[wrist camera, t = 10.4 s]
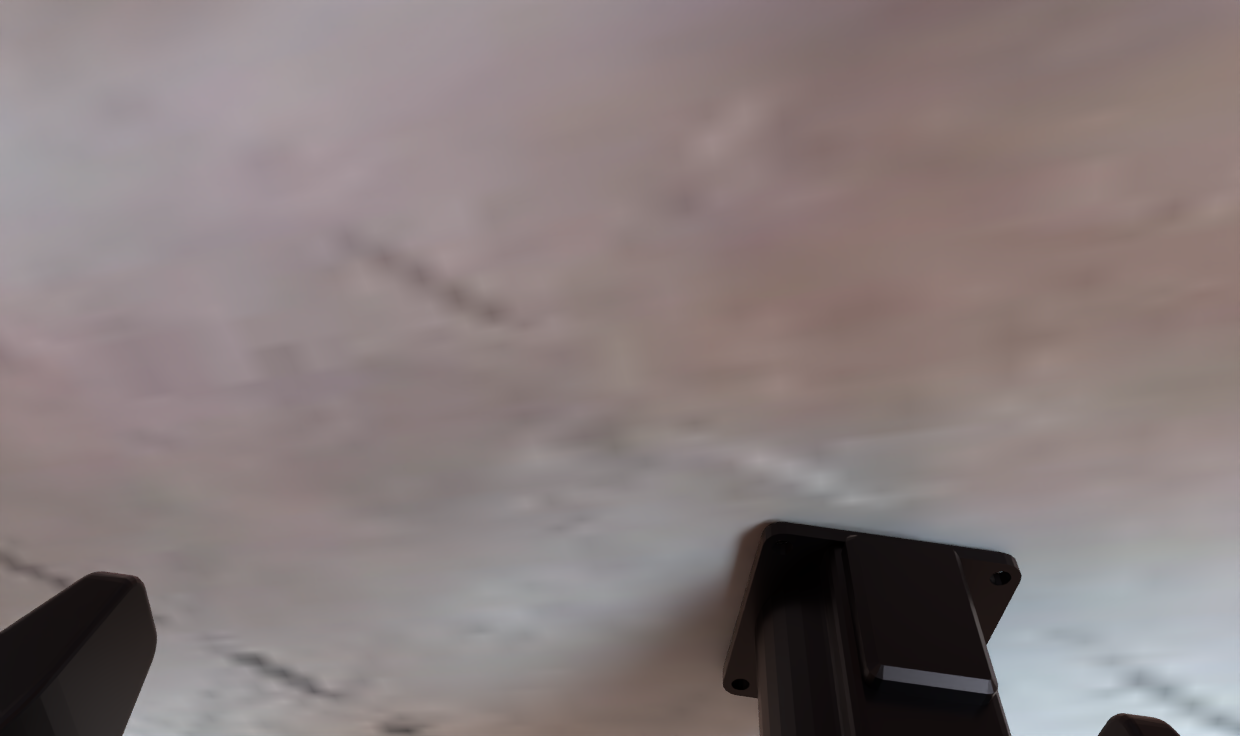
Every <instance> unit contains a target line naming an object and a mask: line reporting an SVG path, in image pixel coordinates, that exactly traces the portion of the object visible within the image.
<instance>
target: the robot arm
mask: <svg viewBox="0 0 1240 736" xmlns="http://www.w3.org/2000/svg"><path fill="white" fill-rule="evenodd" d="M778 541H788V542H787V543H784V544H779V543H776V542H778ZM998 571H1003V572H1001V573H996V572H998ZM994 573H996V574H994ZM1020 580H1021V573H1020V570H1019V568H1018V565H1017V562H1016V560H1015V558H1014V557H1012V556H1011V555H1009V554H1006V553H1002V552H994V551H987V550H980V549H973V548H966V547H959V546H952V545H945V544H937V543H930V542H923V541H916V540H909V539H902V538H895V537H887V536H880V535H873V534H866V533H859V532H852V531H845V530H838V529H830V528H823V527H816V526H809V525H802V524H795V523H788V522H777V523H774V524H771V525H769V526H768V527H767V528H765V530H764V531H763V533H762V536H761V539H760V543H759V546H758V550H757V553H756V557H755V560H754V563H753V567H752V570H751V574H750V577H749V581H748V584H747V588H746V591H745V595H744V598H743V602H742V605H741V609H740V612H739V616H738V619H737V623H736V626H735V630H734V633H733V637H732V640H731V644H730V647H729V651H728V654H727V658H726V661H725V665H724V668H723V687H724V688H725V690H726V691H728V692H729V693H731V694H734V695H739V696H746V697H753V698H758V709H759V728H760V736H1011V733H1010V730H1009V727H1008V723H1007V720H1006V717H1005V713H1004V710H1003V707H1002V703H1001V700H1000V697H999V693H998V683H997V679H996V676H995V673H994V669H993V666H992V663H991V660H990V656H989V653H988V650H987V646H986V645H987V643H988V641H989V639H990V637H991V635H992V634H993V632H994V630H995V628H996V626H997V624H998V622H999V620H1000V619H1001V617H1002V615H1003V613H1004V611H1005V609H1006V607H1007V605H1008V603H1009V602H1010V600H1011V598H1012V596H1013V594H1014V592H1015V590H1016V588H1017V586H1018V585H1019V583H1020ZM156 644H157V633H156V628H155V624H154V620H153V616H152V612H151V608H150V604H149V600H148V596H147V592H146V589H145V586H144V583H143V582H142V581H141V580H140V579H139V578H138V577H136V576H132V575H125V574H118V573H111V572H94V573H91V574H89V575H86V576H84V577H83V578H81V579H80V580H78V581H77V582H75V583H74V584H72V585H71V586H69V587H68V588H66V589H65V590H63V591H61V592H60V593H58V594H57V595H55V596H54V597H52V598H51V599H49V600H48V601H46V602H45V603H43V604H42V605H40V606H39V607H37V608H36V609H34V610H33V611H31V612H30V613H28V614H27V615H25V616H24V617H22V618H21V619H19V620H18V621H16V622H15V623H13V624H12V625H10V626H9V627H7V628H6V629H4V630H3V631H1V632H0V736H122V735H123V733H124V730H125V728H126V725H127V723H128V720H129V718H130V715H131V713H132V710H133V708H134V706H135V703H136V701H137V698H138V696H139V693H140V691H141V688H142V686H143V683H144V681H145V678H146V676H147V673H148V671H149V668H150V666H151V663H152V661H153V658H154V654H155V650H156ZM1098 736H1180V735H1179V734H1178V733H1177V732H1176V731H1175V730H1174V729H1173V728H1172V727H1171V726H1170V725H1169V724H1167V723H1166V722H1164V721H1162V720H1160V719H1157V718H1154V717H1147V716H1139V715H1132V714H1125V713H1120V714H1117V715H1114V716H1113V717H1111V718H1110V719H1109V720H1108V722H1107V723H1106V725H1105V726H1104V727H1103V729H1102V730H1101V732H1100V733H1099V735H1098Z"/></svg>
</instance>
